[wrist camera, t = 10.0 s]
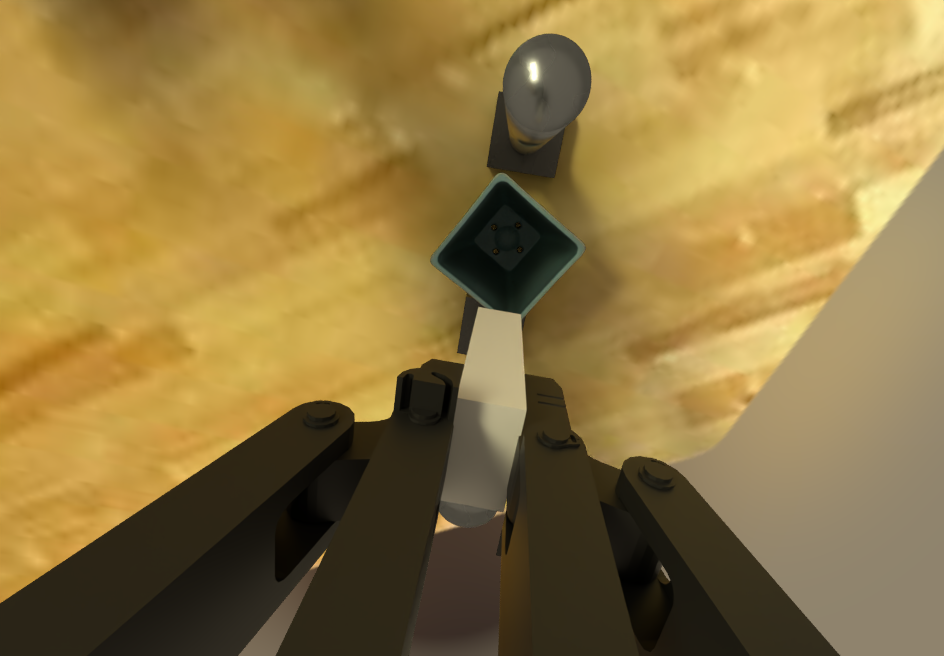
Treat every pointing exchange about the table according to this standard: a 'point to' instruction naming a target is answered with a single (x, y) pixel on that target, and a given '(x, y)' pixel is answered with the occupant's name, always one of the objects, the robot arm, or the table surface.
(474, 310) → the post
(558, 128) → the post
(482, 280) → the flower pot
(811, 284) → the table surface
